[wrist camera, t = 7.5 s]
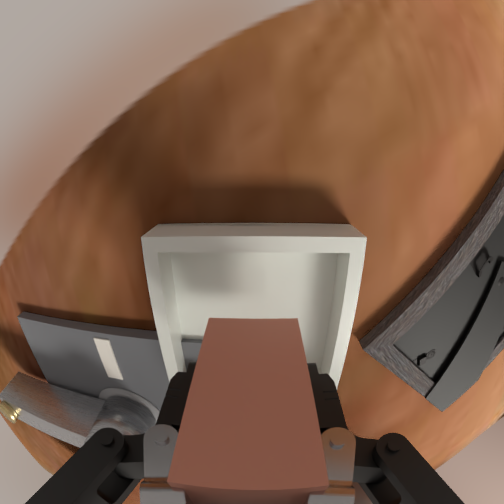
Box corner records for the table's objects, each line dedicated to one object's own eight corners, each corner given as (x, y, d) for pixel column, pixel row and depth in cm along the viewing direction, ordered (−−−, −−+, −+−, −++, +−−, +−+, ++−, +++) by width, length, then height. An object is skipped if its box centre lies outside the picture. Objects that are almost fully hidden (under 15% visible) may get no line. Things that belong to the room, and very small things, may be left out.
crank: (148, 401, 19) (127, 455, 14) (161, 433, 21) (147, 481, 15) (14, 363, 19) (-12, 394, 14) (33, 395, 21) (11, 426, 16)
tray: (350, 224, 15) (366, 237, 13) (328, 370, 19) (335, 395, 16) (158, 223, 15) (140, 237, 13) (180, 369, 19) (172, 393, 17)
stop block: (297, 318, 12) (328, 484, 5) (291, 379, 14) (305, 518, 6) (208, 317, 12) (166, 481, 5) (215, 378, 14) (193, 515, 6)
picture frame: (435, 399, 22) (551, 260, 16) (442, 411, 20) (562, 266, 14) (356, 336, 18) (514, 141, 13) (364, 353, 17) (530, 143, 11)
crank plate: (238, 335, 18) (237, 346, 17) (244, 447, 23) (243, 456, 22) (23, 311, 18) (16, 317, 17) (76, 417, 23) (73, 423, 22)
